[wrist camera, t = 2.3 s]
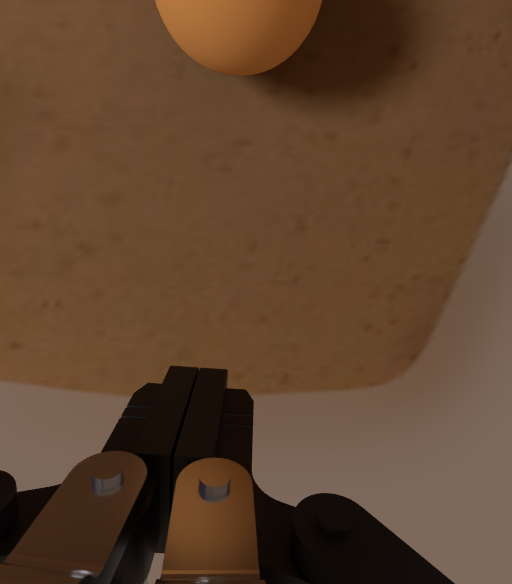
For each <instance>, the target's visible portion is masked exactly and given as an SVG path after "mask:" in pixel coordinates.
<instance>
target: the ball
mask: <svg viewBox="0 0 512 584" xmlns="http://www.w3.org/2000/svg"><path fill="white" fill-rule="evenodd" d="M155 1H156V5H157V8H158V10H159V12H160V15H161V17H162V20H163V22H164V24H165V26H166V27H167V29H168V31H169V33H170V34H171V36H172V37H173V38H174V40H175V41H176V43H177V44H178V45H179V46H180V47H181V48H182V49H183V50H184V51H185V52H186V53H187V54H188V55H189V56H190V57H191V58H193V59H194V60H195V61H196V62H198V63H199V64H201V65H203V66H204V67H206V68H208V69H210V70H213V71H215V72H218V73H222V74H226V75H232V76H248V75H255V74H258V73H262V72H265V71H267V70H270V69H272V68H274V67H276V66H277V65H279V64H281V63H282V62H284V61H285V60H286V59H287V58H289V57H290V56H291V55H292V54H293V53H294V52H295V51H296V50H297V49H298V48H299V47H300V45H301V44H302V43H303V41H304V40H305V38H306V37H307V35H308V34H309V32H310V30H311V28H312V27H313V25H314V23H315V20H316V18H317V15H318V13H319V10H320V6H321V3H322V0H155Z"/></svg>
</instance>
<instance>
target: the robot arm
mask: <svg viewBox="0 0 512 584" xmlns="http://www.w3.org/2000/svg"><path fill="white" fill-rule="evenodd" d="M227 378H228V370H227V369H213V368H200V370H199V368H197V367H183V366H170V368H169V370H168V372H167V374H166V376H165V379H164V381H163V383H162V384H157V383H147V384H146V385H144V386H143V387H142V388H140V389H139V390H137V391H136V392H135V393H134V394H133V396H132V398H131V399H130V401H129V403H128V405H127V408H125V410H124V412H123V414H122V416H121V418H120V419H119V421H118V423H117V424H116V426H115V428H114V430H113V432H112V433H111V435H110V437H109V439H108V441H107V443H106V444H105V446H104V448H103V450H102V451H101V453H98V454H95V455H93V456H90V457H88V458H86V459H84V460H83V461H81V462H80V463H78V464H77V465H76V466H75V467H74V468H73V469H72V470H71V472H70V473H69V474H68V476H67V477H66V478H65V480H64V481H63V482H62V484H59V485H55V486H50V487H45V488H39V489H34V490H27V491H21V492H17V488H16V482H15V479H14V478H13V477H12V476H11V475H10V474H9V473H7V472H5V471H1V470H0V584H147V576H148V574H149V571H150V567H151V564H152V560H153V557H154V553H165V554H164V561H163V567H162V572H161V578H160V579H157V580H156V582H155V584H454V583H453V582H452V581H451V580H450V579H448V578H447V577H446V576H445V575H444V574H442V573H441V572H440V571H439V570H438V569H436V568H435V567H434V566H433V565H432V564H430V563H429V562H428V561H427V560H425V559H424V558H423V557H422V556H421V555H419V554H418V553H417V552H416V551H415V550H413V549H412V548H411V547H410V546H409V545H407V544H406V543H405V542H404V541H402V540H401V539H400V538H399V537H398V536H396V535H395V534H394V533H393V532H392V531H390V530H389V529H388V528H386V527H385V526H384V525H383V524H382V523H381V522H379V521H378V520H377V519H376V518H375V517H373V516H372V515H371V514H370V513H368V512H367V511H366V510H365V509H364V508H362V507H361V506H359V505H358V504H357V503H356V502H354V501H352V500H350V499H348V498H346V497H343V496H340V495H336V494H330V493H320V494H314V495H311V496H308V497H306V498H305V499H303V500H302V501H301V502H300V503H299V504H298V505H297V506H296V507H294V506H291V505H288V504H285V503H282V502H280V501H277V500H275V499H273V498H271V497H270V496H268V495H267V494H265V493H264V492H263V491H262V490H261V489H260V488H259V487H258V485H257V484H256V483H255V481H254V479H253V476H252V437H253V404H254V401H253V399H252V398H251V396H250V395H249V394H248V392H247V391H246V390H243V389H229V388H227Z"/></svg>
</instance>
